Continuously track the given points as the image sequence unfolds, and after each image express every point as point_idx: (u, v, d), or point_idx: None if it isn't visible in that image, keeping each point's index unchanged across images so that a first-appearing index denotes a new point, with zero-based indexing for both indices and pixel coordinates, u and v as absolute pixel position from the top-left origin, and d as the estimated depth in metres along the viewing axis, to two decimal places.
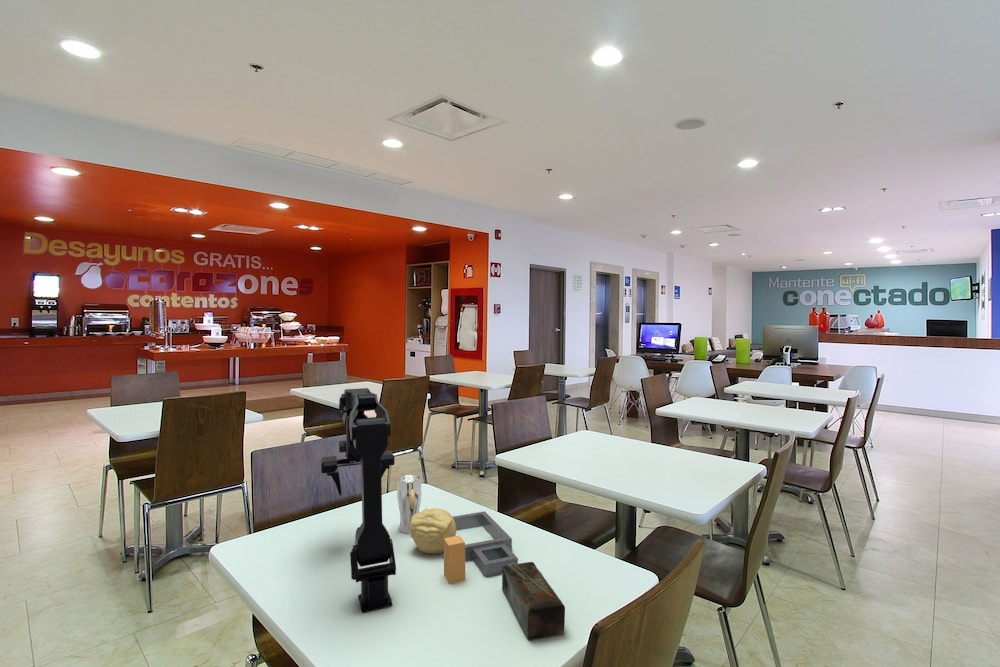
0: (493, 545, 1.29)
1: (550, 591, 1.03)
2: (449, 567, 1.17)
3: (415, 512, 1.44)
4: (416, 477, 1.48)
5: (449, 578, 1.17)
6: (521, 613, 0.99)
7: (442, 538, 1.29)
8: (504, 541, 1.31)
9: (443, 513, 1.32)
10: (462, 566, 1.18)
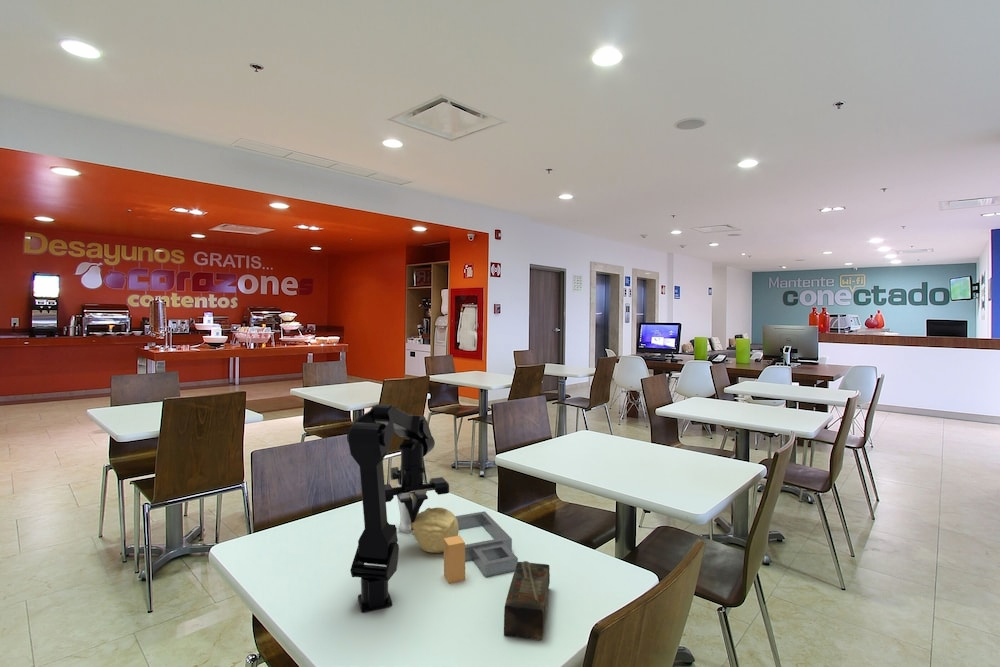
0: (493, 545, 1.29)
1: (540, 595, 1.01)
2: (449, 567, 1.17)
3: None
4: None
5: (449, 578, 1.17)
6: None
7: (445, 537, 1.29)
8: (504, 541, 1.31)
9: (446, 512, 1.33)
10: (462, 566, 1.18)
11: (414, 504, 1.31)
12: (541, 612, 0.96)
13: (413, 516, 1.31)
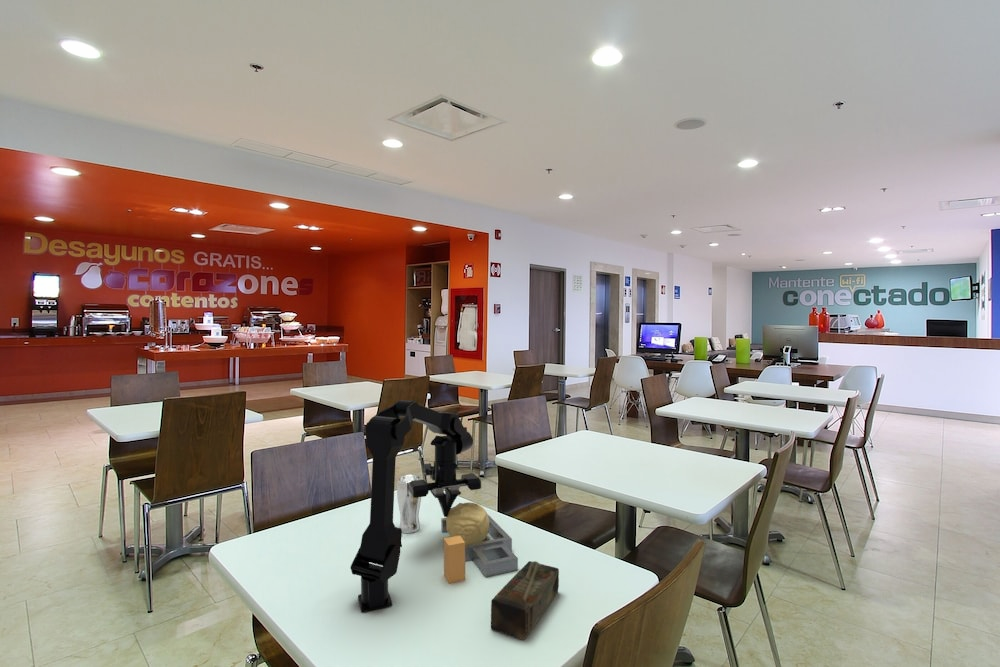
0: (493, 545, 1.29)
1: (531, 595, 1.01)
2: (449, 567, 1.17)
3: (415, 512, 1.44)
4: (416, 477, 1.48)
5: (449, 578, 1.17)
6: None
7: (478, 531, 1.33)
8: (504, 541, 1.31)
9: (478, 507, 1.37)
10: (462, 566, 1.18)
11: (447, 499, 1.34)
12: (524, 612, 0.96)
13: (446, 511, 1.34)
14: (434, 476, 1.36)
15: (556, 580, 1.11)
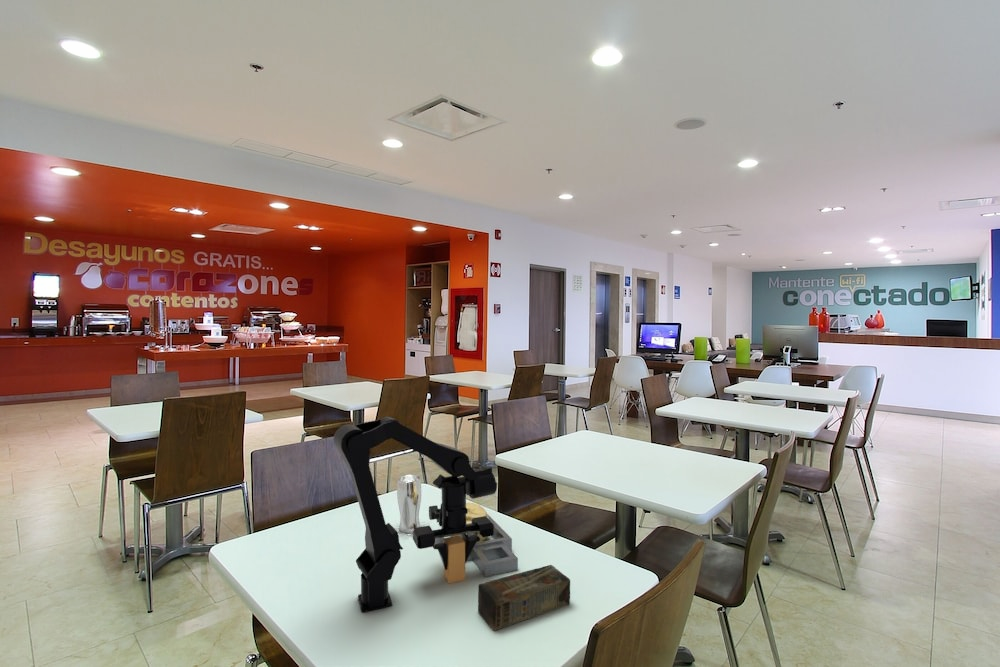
0: (493, 545, 1.29)
1: (515, 593, 1.02)
2: (449, 567, 1.17)
3: (415, 512, 1.44)
4: (416, 477, 1.48)
5: (449, 578, 1.17)
6: None
7: (478, 531, 1.33)
8: (504, 541, 1.31)
9: (478, 507, 1.37)
10: (462, 566, 1.18)
11: (465, 546, 1.19)
12: (494, 604, 0.99)
13: None
14: (441, 521, 1.20)
15: (564, 590, 1.07)
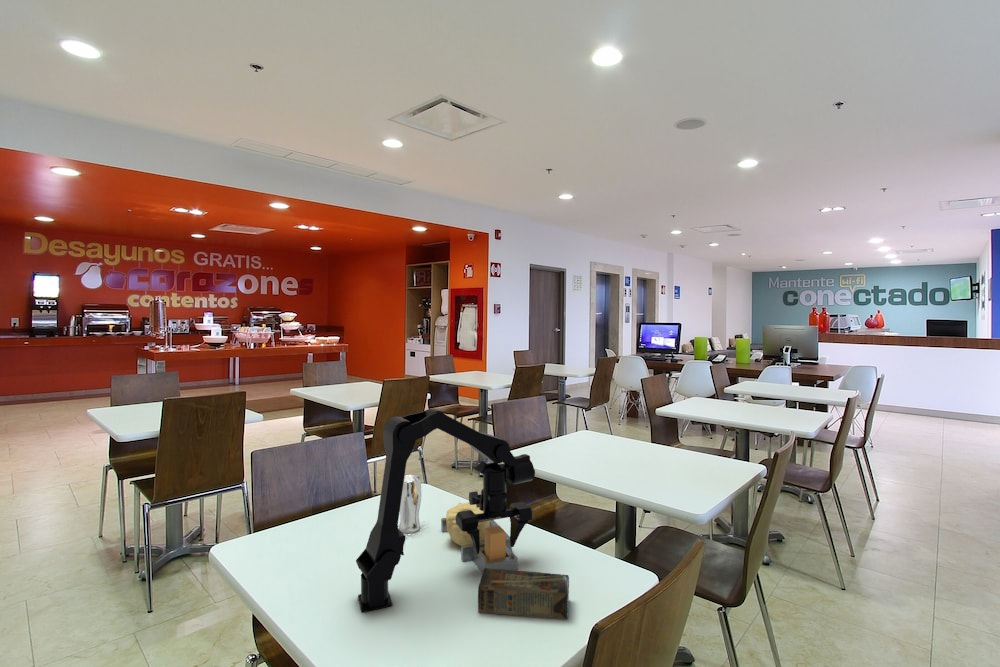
0: None
1: (503, 585, 1.05)
2: (491, 555, 1.22)
3: (415, 512, 1.44)
4: (416, 477, 1.48)
5: None
6: None
7: None
8: None
9: (478, 507, 1.37)
10: (503, 554, 1.23)
11: (514, 528, 1.25)
12: (478, 587, 1.05)
13: (513, 541, 1.25)
14: (482, 506, 1.25)
15: (560, 602, 1.02)
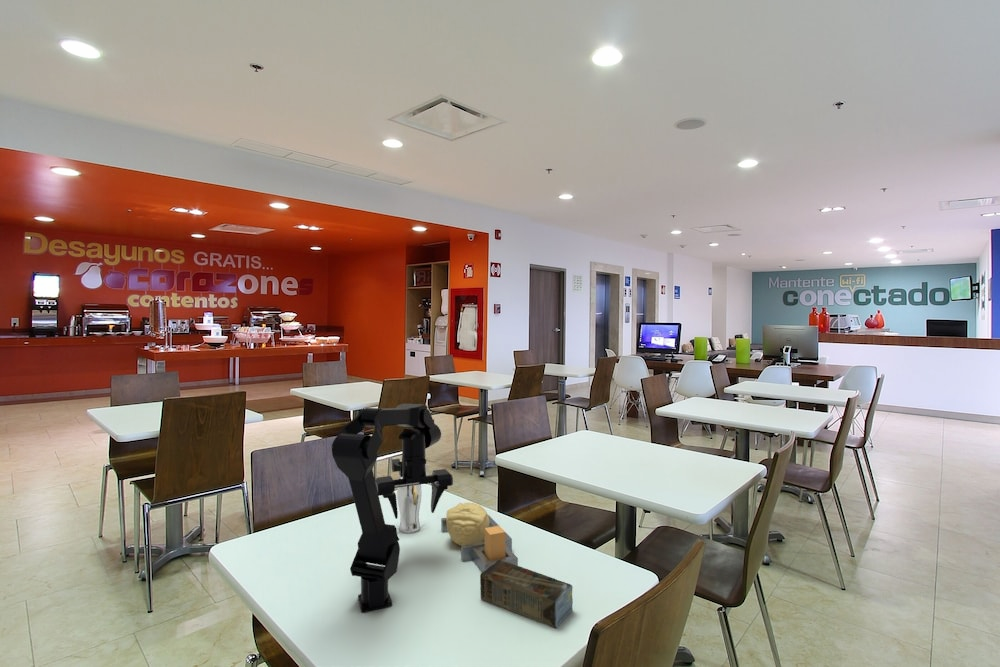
0: None
1: (502, 578, 1.08)
2: (491, 555, 1.22)
3: (415, 512, 1.44)
4: None
5: None
6: None
7: (478, 531, 1.33)
8: None
9: (478, 507, 1.37)
10: (503, 554, 1.23)
11: (434, 494, 1.27)
12: (480, 575, 1.10)
13: (433, 506, 1.27)
14: None
15: (548, 609, 1.00)
